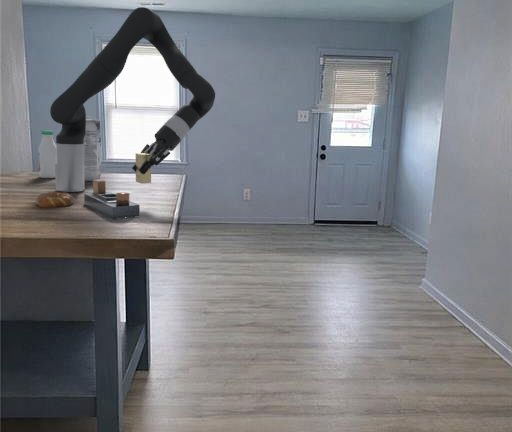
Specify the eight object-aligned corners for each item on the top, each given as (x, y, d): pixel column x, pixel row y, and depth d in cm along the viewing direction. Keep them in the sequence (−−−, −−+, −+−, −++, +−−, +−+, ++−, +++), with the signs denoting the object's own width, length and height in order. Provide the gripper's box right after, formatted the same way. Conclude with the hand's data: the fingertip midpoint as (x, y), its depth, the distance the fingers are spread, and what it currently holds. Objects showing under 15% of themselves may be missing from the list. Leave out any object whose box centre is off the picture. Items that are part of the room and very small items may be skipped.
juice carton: (95, 181, 194) (94, 116, 188) (71, 180, 194) (69, 115, 188) (103, 179, 203) (102, 116, 197) (79, 177, 203) (77, 115, 197)
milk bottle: (62, 177, 202) (61, 131, 198) (49, 179, 195) (47, 131, 190) (48, 175, 204) (46, 130, 200) (35, 177, 197) (32, 130, 193)
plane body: (84, 204, 147) (83, 179, 146) (108, 202, 152) (108, 178, 151) (112, 219, 129) (112, 191, 128) (139, 216, 134) (139, 189, 132)
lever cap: (135, 181, 147) (135, 153, 145) (146, 181, 149) (145, 153, 147) (141, 183, 143) (141, 154, 141) (152, 183, 145) (152, 154, 143)
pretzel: (56, 210, 138) (55, 198, 137) (26, 206, 141) (25, 194, 140) (81, 203, 150) (81, 192, 149) (53, 200, 152) (53, 189, 152)
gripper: (155, 123, 152) (120, 161, 147) (175, 125, 141) (139, 165, 136) (169, 139, 156) (136, 176, 152) (190, 142, 146) (155, 182, 141)
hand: (137, 171), depth 144 cm, fingers closed on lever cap, 4 cm apart
